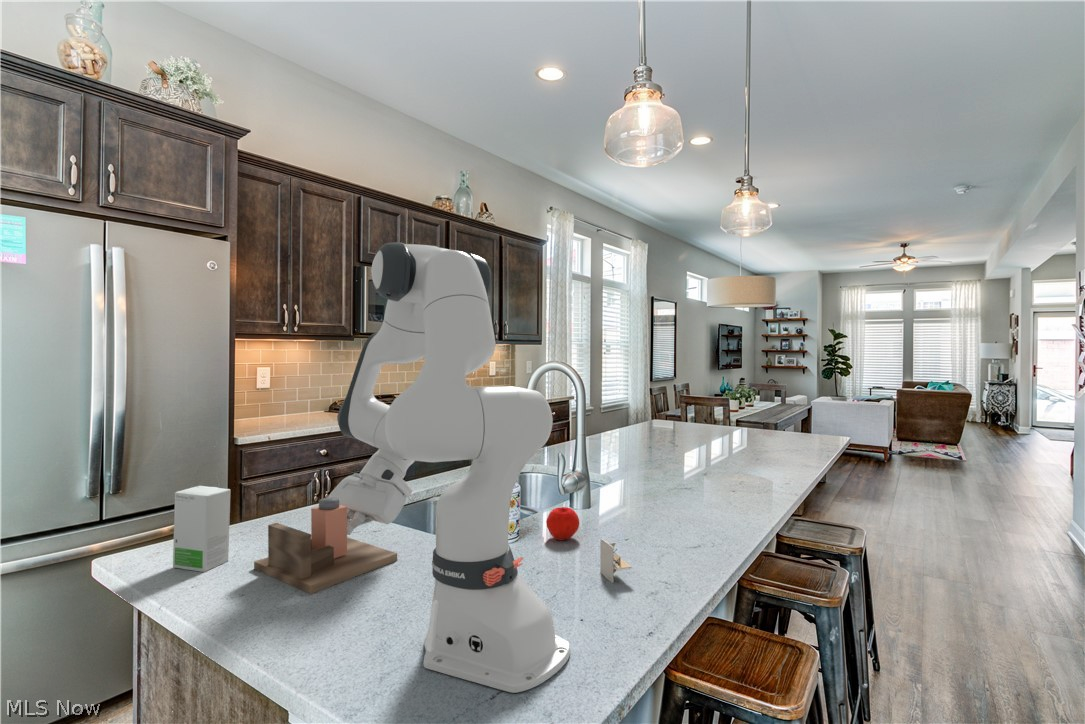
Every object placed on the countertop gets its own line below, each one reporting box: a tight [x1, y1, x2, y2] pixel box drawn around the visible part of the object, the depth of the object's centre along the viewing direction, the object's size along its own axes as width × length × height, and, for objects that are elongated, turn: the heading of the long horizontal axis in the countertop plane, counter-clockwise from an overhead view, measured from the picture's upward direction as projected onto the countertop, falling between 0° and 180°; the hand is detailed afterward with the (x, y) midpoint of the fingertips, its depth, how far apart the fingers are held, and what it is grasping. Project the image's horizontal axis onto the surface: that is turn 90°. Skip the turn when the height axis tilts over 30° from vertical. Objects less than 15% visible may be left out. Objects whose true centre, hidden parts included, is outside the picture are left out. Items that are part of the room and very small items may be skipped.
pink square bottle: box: [310, 497, 348, 559], centre depth 115 cm, size 5×5×12 cm
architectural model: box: [599, 537, 632, 584], centre depth 109 cm, size 3×7×7 cm, turn 19°
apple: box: [545, 506, 580, 541], centre depth 131 cm, size 8×8×7 cm
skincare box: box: [172, 485, 231, 573], centre depth 114 cm, size 8×7×16 cm
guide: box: [253, 522, 398, 595], centre depth 115 cm, size 20×20×10 cm
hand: (342, 532), depth 118 cm, fingers closed, pressing on pink square bottle
